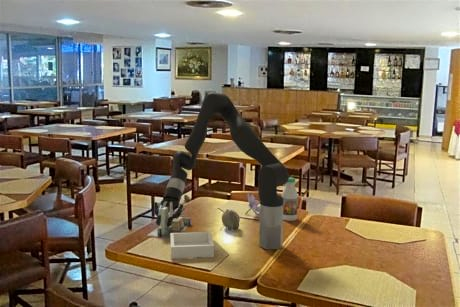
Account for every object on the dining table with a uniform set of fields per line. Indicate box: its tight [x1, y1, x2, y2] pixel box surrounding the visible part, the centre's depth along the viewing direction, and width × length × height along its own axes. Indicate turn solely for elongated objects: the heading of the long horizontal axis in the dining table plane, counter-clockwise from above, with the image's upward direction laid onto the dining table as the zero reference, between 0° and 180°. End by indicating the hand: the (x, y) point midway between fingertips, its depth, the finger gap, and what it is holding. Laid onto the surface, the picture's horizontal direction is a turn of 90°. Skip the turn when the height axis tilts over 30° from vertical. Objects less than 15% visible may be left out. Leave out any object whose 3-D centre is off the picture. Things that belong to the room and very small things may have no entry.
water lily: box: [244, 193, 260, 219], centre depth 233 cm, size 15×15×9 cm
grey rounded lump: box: [221, 209, 241, 231], centre depth 211 cm, size 9×8×10 cm
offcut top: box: [171, 216, 182, 226], centre depth 209 cm, size 6×7×2 cm
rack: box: [146, 215, 192, 239], centre depth 207 cm, size 20×12×4 cm, turn 163°
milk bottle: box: [281, 176, 299, 222], centre depth 227 cm, size 8×8×20 cm
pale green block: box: [160, 207, 170, 235], centre depth 201 cm, size 4×2×11 cm, turn 163°
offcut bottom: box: [171, 222, 184, 231], centre depth 209 cm, size 6×8×2 cm
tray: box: [169, 231, 215, 260], centre depth 185 cm, size 16×16×4 cm
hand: (162, 225), depth 199 cm, fingers open, 4 cm apart
